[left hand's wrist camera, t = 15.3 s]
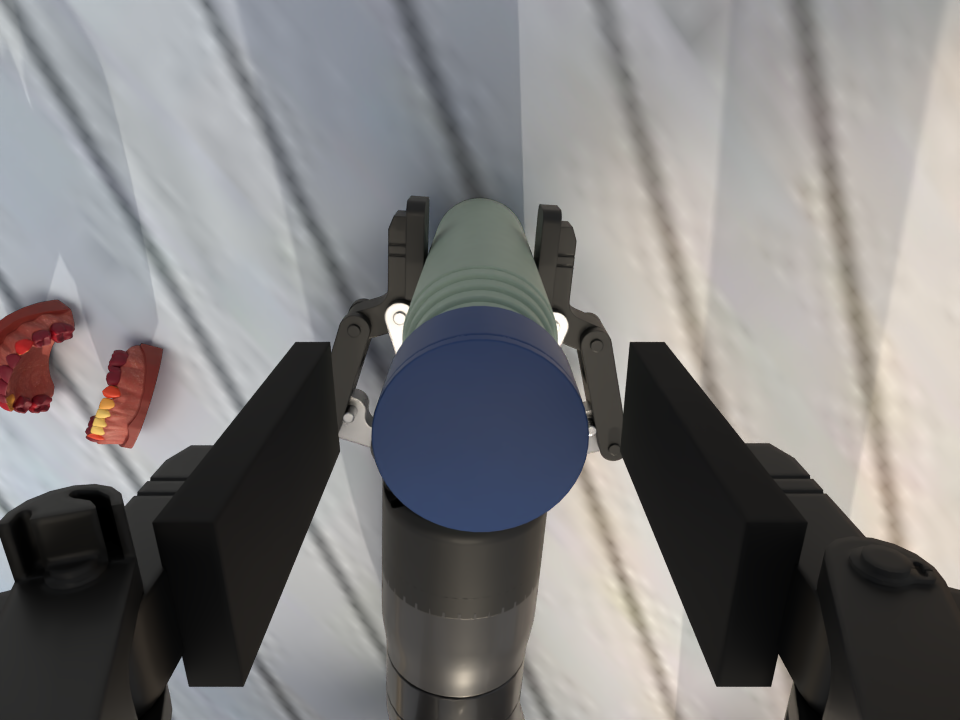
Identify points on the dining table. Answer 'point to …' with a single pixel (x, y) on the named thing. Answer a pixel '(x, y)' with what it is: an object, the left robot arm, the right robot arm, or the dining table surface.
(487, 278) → the bottle
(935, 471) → the dining table surface
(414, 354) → the cap
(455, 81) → the dining table surface
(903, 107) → the dining table surface
